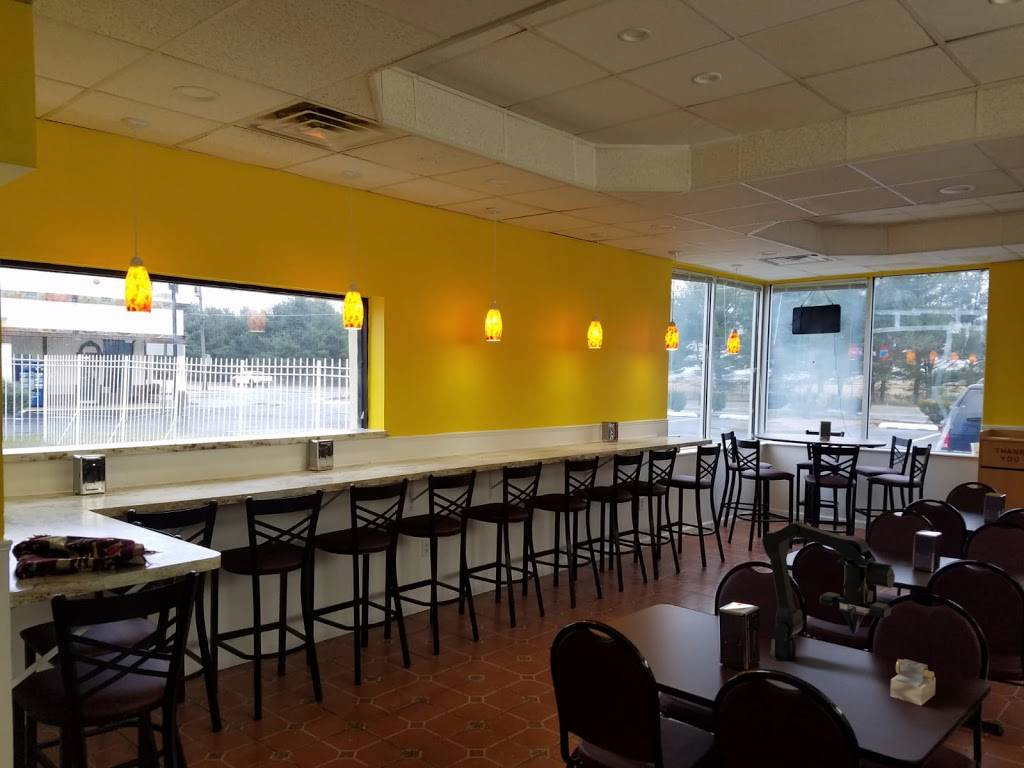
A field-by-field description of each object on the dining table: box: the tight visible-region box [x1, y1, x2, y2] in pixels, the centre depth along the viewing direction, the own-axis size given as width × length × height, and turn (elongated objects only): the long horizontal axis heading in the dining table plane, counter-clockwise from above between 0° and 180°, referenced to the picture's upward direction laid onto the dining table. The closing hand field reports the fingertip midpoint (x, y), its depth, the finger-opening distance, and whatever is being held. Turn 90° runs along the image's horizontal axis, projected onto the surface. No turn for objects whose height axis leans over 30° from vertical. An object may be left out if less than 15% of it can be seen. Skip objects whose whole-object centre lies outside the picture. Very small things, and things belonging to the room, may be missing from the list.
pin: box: [895, 658, 935, 680], centre depth 214 cm, size 9×4×4 cm, turn 44°
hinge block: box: [890, 658, 936, 706], centre depth 214 cm, size 8×11×9 cm
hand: (853, 633), depth 226 cm, fingers closed
